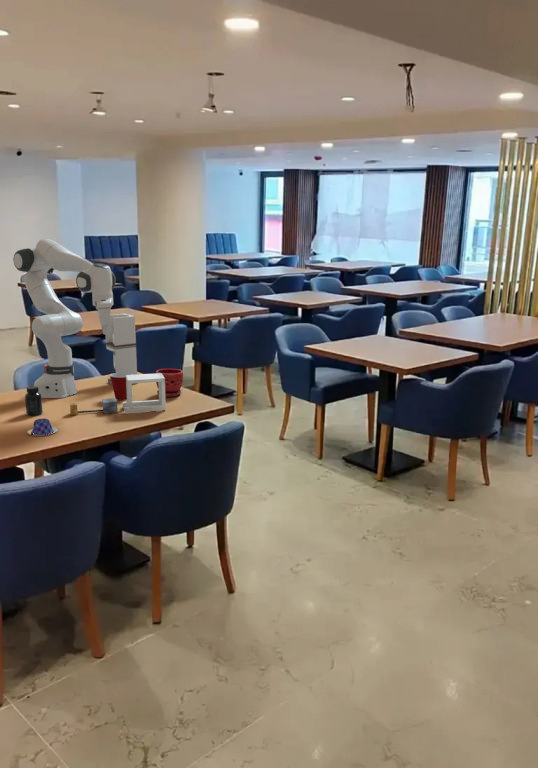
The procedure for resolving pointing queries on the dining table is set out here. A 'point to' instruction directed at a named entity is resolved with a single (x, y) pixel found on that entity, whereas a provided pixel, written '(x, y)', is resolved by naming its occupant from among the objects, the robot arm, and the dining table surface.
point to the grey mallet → (108, 407)
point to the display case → (122, 343)
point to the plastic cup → (119, 385)
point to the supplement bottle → (33, 401)
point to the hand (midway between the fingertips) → (104, 332)
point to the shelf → (144, 405)
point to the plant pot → (171, 386)
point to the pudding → (42, 427)
